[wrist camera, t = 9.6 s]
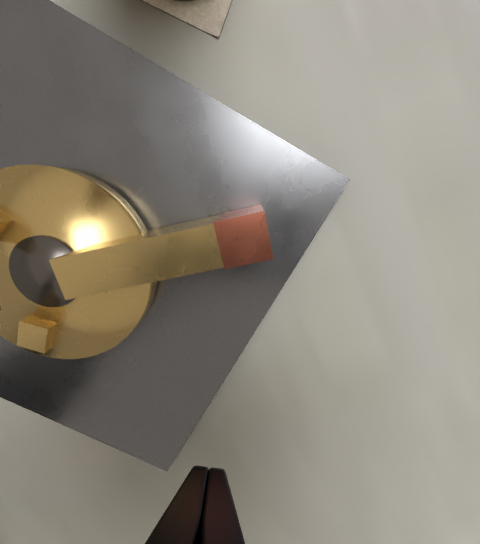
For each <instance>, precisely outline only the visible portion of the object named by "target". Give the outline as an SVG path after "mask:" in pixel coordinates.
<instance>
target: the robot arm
mask: <svg viewBox="0 0 480 544" xmlns="http://www.w3.org/2000/svg"><path fill="white" fill-rule="evenodd" d="M145 544H245V542H244V538H243V534H242V531H241V527H240V523H239V520H238V516H237V512H236V509H235V505H234V501H233V498H232V494H231V491H230V487H229V483H228V480H227V476H226V473H225V471H224V469H219V468H210V469H208V468H207V467H203V466H194V467H193V468H192V469H191V471H190V472H189V474H188V476H187V477H186V479H185V480H184V482H183V484H182V485H181V487H180V488H179V490H178V492H177V493H176V495H175V496H174V498H173V500H172V501H171V503H170V504H169V506H168V508H167V509H166V511H165V512H164V514H163V516H162V517H161V519H160V520H159V522H158V524H157V525H156V527H155V528H154V530H153V532H152V533H151V535H150V536H149V538H148V540H147V541H146V543H145Z"/></svg>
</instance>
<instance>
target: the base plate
mask: <svg viewBox="0 0 480 544" xmlns="http://www.w3.org/2000/svg"><path fill="white" fill-rule="evenodd" d="M30 164H34V165H43V166H52V167H61V168H68V169H72V170H76V171H80V172H82V173H85V174H87V175H90V176H93V177H94V178H96V179H98V180H100V181H102V182H104V183H105V184H107V185H108V186H109V187H111V188H112V189H114V190H115V191H116V192H117V193H119V194H120V195H121V196H122V197H123V198H124V199H125V200H126V201H127V202H128V203H129V204H130V205H131V206H132V208H133V209H134V210H135V211H136V213H137V214H138V215H139V217H140V218H141V220H142V221H143V223H144V225H145V227H146V229H147V231H148V230H152V229H157V228H161V227H165V226H170V225H174V224H179V223H183V222H188V221H192V220H197V219H201V218H206V217H210V216H215V215H219V214H223V213H225V212H228V211H232V210H237V209H241V208H246V207H250V206H255V205H259V204H261V206H262V208H263V209H264V212H265V217H266V222H267V227H268V232H269V238H270V243H271V248H272V253H273V258H274V259H272V260H267V261H262V262H257V263H252V264H247V265H242V266H237V267H233V268H228V269H224V268H220V269H215V270H210V271H205V272H200V273H196V274H191V275H186V276H181V277H176V278H171V279H166V280H161V281H157V286H156V292H155V295H154V298H153V301H152V303H151V305H150V308H149V310H148V312H147V313H146V314H145V316H144V317H143V319H142V320H141V321H140V322H139V324H138V325H137V326H136V327H135V328H134V329H133V331H132V332H131V333H130V334H129V335H128V336H127V337H126V338H125V339H124V340H123V341H122V342H120V343H119V344H118V345H116V346H115V347H113V348H111V349H109V350H108V351H106V352H103V353H101V354H98V355H95V356H91V357H87V358H80V359H58V358H50V357H46V356H42V355H38V354H35V353H32V352H29V351H27V350H25V349H23V348H20V347H18V346H16V345H14V344H13V343H11V342H9V341H8V340H6V339H4V338H3V337H2V336H0V397H2V398H4V399H6V400H8V401H11V402H13V403H15V404H17V405H20V406H22V407H24V408H26V409H29V410H31V411H33V412H35V413H38V414H40V415H42V416H44V417H47V418H49V419H51V420H53V421H56V422H58V423H60V424H62V425H65V426H67V427H69V428H71V429H74V430H76V431H78V432H80V433H83V434H85V435H87V436H89V437H92V438H94V439H96V440H98V441H101V442H103V443H105V444H107V445H110V446H112V447H114V448H116V449H119V450H121V451H123V452H125V453H128V454H130V455H132V456H134V457H137V458H139V459H141V460H143V461H146V462H148V463H150V464H152V465H155V466H157V467H159V468H161V469H164V470H166V471H168V469H169V467H170V466H171V464H172V463H173V461H174V459H175V458H176V456H177V455H178V453H179V451H180V450H181V448H182V447H183V445H184V443H185V442H186V440H187V439H188V437H189V435H190V434H191V432H192V431H193V429H194V427H195V426H196V424H197V423H198V421H199V420H200V418H201V416H202V415H203V413H204V412H205V410H206V408H207V407H208V405H209V404H210V402H211V400H212V399H213V397H214V396H215V394H216V392H217V391H218V389H219V388H220V386H221V384H222V383H223V381H224V380H225V378H226V376H227V375H228V373H229V372H230V370H231V369H232V367H233V365H234V364H235V362H236V361H237V359H238V357H239V356H240V354H241V353H242V351H243V349H244V348H245V346H246V345H247V343H248V341H249V340H250V338H251V337H252V335H253V333H254V332H255V330H256V329H257V327H258V326H259V324H260V322H261V321H262V319H263V318H264V316H265V314H266V313H267V311H268V310H269V308H270V306H271V305H272V303H273V302H274V300H275V298H276V297H277V295H278V294H279V292H280V290H281V289H282V287H283V286H284V284H285V282H286V281H287V279H288V278H289V276H290V275H291V273H292V271H293V270H294V268H295V267H296V265H297V263H298V262H299V260H300V259H301V257H302V255H303V254H304V252H305V251H306V249H307V247H308V246H309V244H310V243H311V241H312V239H313V238H314V236H315V235H316V233H317V231H318V230H319V228H320V227H321V225H322V224H323V222H324V220H325V219H326V217H327V216H328V214H329V212H330V211H331V209H332V208H333V206H334V204H335V203H336V201H337V200H338V198H339V196H340V195H341V193H342V192H343V190H344V188H345V187H346V185H347V184H348V182H349V180H350V179H348V178H346V177H345V176H343V175H341V174H340V173H338V172H336V171H335V170H333V169H331V168H330V167H328V166H326V165H325V164H323V163H321V162H320V161H318V160H316V159H315V158H313V157H311V156H310V155H308V154H306V153H304V152H303V151H301V150H299V149H298V148H296V147H294V146H293V145H291V144H289V143H288V142H286V141H284V140H283V139H281V138H279V137H278V136H276V135H274V134H273V133H271V132H269V131H268V130H266V129H264V128H262V127H261V126H259V125H257V124H256V123H254V122H252V121H251V120H249V119H247V118H246V117H244V116H242V115H241V114H239V113H237V112H236V111H234V110H232V109H231V108H229V107H227V106H226V105H224V104H222V103H221V102H219V101H217V100H215V99H214V98H212V97H210V96H209V95H207V94H205V93H204V92H202V91H200V90H199V89H197V88H195V87H194V86H192V85H190V84H189V83H187V82H185V81H184V80H182V79H180V78H179V77H177V76H175V75H174V74H172V73H170V72H168V71H167V70H165V69H163V68H162V67H160V66H158V65H157V64H155V63H153V62H152V61H150V60H148V59H147V58H145V57H143V56H142V55H140V54H138V53H137V52H135V51H133V50H132V49H130V48H128V47H127V46H125V45H123V44H121V43H120V42H118V41H116V40H115V39H113V38H111V37H110V36H108V35H106V34H105V33H103V32H101V31H100V30H98V29H96V28H95V27H93V26H91V25H90V24H88V23H86V22H85V21H83V20H81V19H80V18H78V17H76V16H74V15H73V14H71V13H69V12H68V11H66V10H64V9H63V8H61V7H59V6H58V5H56V4H54V3H53V2H51V1H49V0H0V169H2V168H5V167H10V166H15V165H30Z"/></svg>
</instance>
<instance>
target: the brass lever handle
mask: <svg viewBox="0 0 480 544" xmlns="http://www.w3.org/2000/svg"><path fill="white" fill-rule="evenodd" d="M272 259H274V258H273V253H272V248H271V243H270V238H269V232H268V227H267V222H266V217H265V212H264V209H263V208H262V206H261V204H259V205H255V206H250V207H246V208H241V209H237V210H232V211H228V212H225V213H223V214H219V215H215V216H210V217H206V218H201V219H197V220H192V221H188V222H183V223H179V224H174V225H170V226H165V227H161V228H157V229H152V230H148V231H147V229H146V227H145V225H144V223H143V221H142V220H141V218H140V217H139V215H138V214H137V213H136V211H135V210H134V209H133V208H132V206H131V205H130V204H129V203H128V202H127V201H126V200H125V199H124V198H123V197H122V196H121V195H120V194H119V193H117V192H116V191H115V190H114V189H112V188H111V187H109V186H108V185H107V184H105V183H104V182H102V181H100V180H98V179H96V178H94V177H93V176H90V175H87V174H85V173H82V172H80V171H76V170H72V169H68V168H61V167H52V166H43V165H34V164H30V165H15V166H10V167H5V168H2V169H0V336H2V337H3V338H4V339H6V340H8V341H9V342H11V343H13V344H14V345H16V346H18V347H20V348H23V349H25V350H27V351H29V352H32V353H35V354H38V355H42V356H46V357H50V358H58V359H80V358H87V357H91V356H95V355H98V354H101V353H103V352H106V351H108V350H109V349H111V348H113V347H115V346H116V345H118V344H119V343H120V342H122V341H123V340H124V339H125V338H126V337H127V336H128V335H129V334H130V333H131V332H132V331H133V329H134V328H135V327H136V326H137V325H138V324H139V322H140V321H141V320H142V319H143V317H144V316H145V314H146V313H147V312H148V310H149V308H150V305H151V303H152V301H153V298H154V295H155V292H156V286H157V281H161V280H166V279H171V278H176V277H181V276H186V275H191V274H196V273H200V272H205V271H210V270H215V269H220V268H224V269H228V268H233V267H237V266H242V265H247V264H252V263H257V262H262V261H267V260H272Z"/></svg>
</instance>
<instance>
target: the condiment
mask: <svg viewBox="0 0 480 544" xmlns="http://www.w3.org/2000/svg"><path fill="white" fill-rule="evenodd" d="M143 1H145V2H147V3H149V4H151V5H153V6H155V7H157V8H159V9H161V10H163V11H165V12H167V13H169V14H171V15H173V16H175V17H177V18H179V19H181V20H183V21H185V22H187V23H189V24H191V25H193V26H195V27H197V28H199V29H201V30H203V31H205V32H207V33H209V34H211V35H214V36H217V37H219V35H220V32H221V30H222V27H223V24H224V21H225V18H226V15H227V12H228V10H229V7H230V4H231V1H232V0H143Z"/></svg>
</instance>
